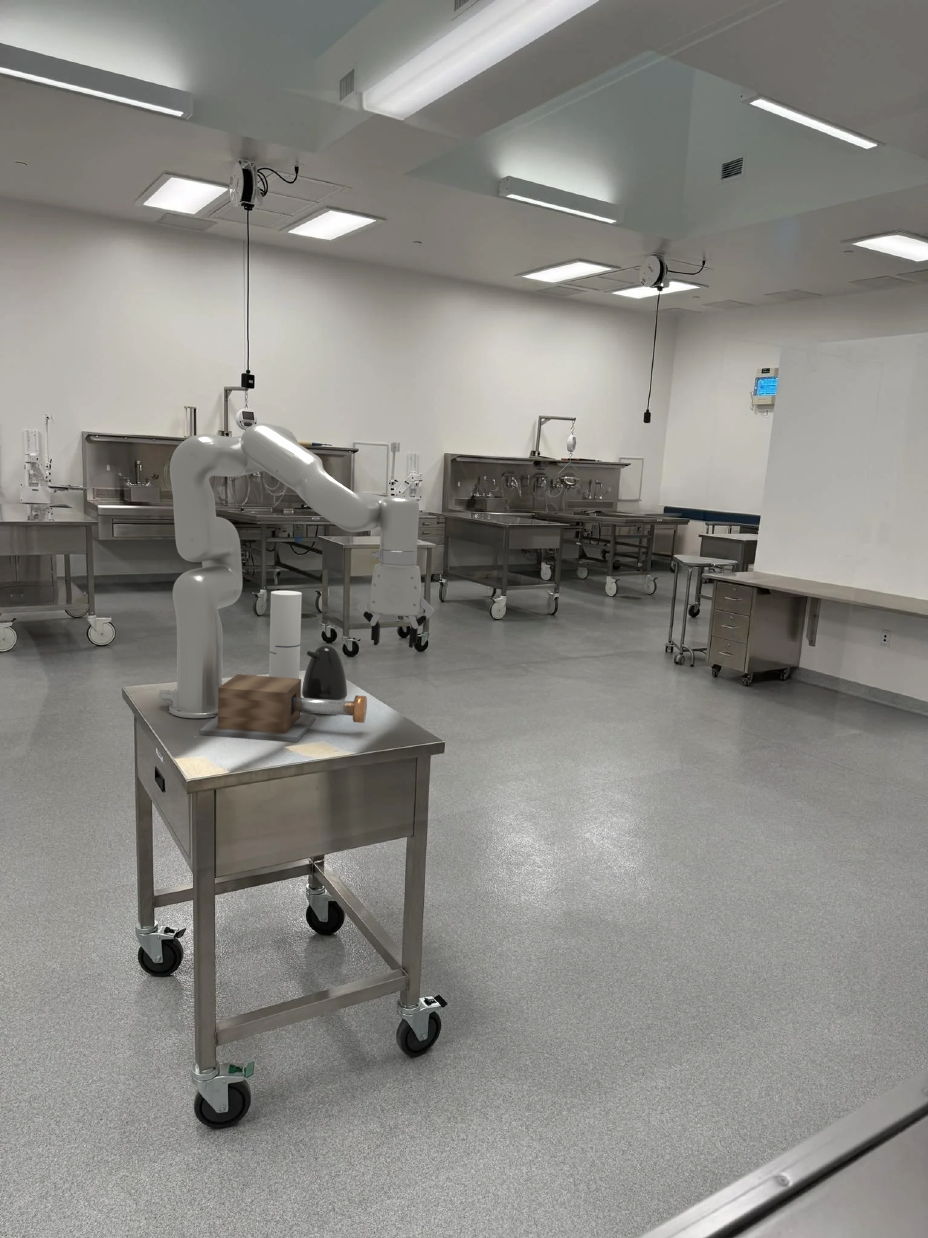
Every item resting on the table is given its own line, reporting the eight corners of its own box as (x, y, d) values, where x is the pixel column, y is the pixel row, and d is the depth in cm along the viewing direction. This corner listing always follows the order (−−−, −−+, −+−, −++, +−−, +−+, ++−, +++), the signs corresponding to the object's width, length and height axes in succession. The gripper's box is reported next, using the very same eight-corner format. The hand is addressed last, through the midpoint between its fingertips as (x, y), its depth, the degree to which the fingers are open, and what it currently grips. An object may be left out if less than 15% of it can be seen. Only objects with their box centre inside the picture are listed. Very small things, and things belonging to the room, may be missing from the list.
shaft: (265, 719, 172) (266, 692, 171) (273, 711, 177) (274, 686, 176) (361, 726, 171) (362, 700, 170) (366, 718, 177) (367, 693, 176)
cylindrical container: (291, 700, 197) (294, 596, 193) (263, 696, 198) (265, 593, 194) (303, 693, 204) (306, 592, 200) (276, 689, 205) (278, 589, 201)
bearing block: (199, 734, 168) (200, 689, 166) (226, 713, 184) (226, 671, 182) (297, 742, 167) (298, 696, 165) (315, 719, 183) (317, 677, 181)
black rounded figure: (291, 708, 190) (293, 643, 187) (326, 701, 198) (328, 638, 195) (320, 719, 183) (322, 651, 181) (355, 711, 191) (358, 646, 189)
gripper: (352, 557, 164) (348, 646, 167) (439, 563, 164) (434, 652, 167) (358, 554, 172) (355, 639, 175) (442, 559, 171) (437, 644, 174)
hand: (393, 644), depth 171 cm, fingers open, 6 cm apart
